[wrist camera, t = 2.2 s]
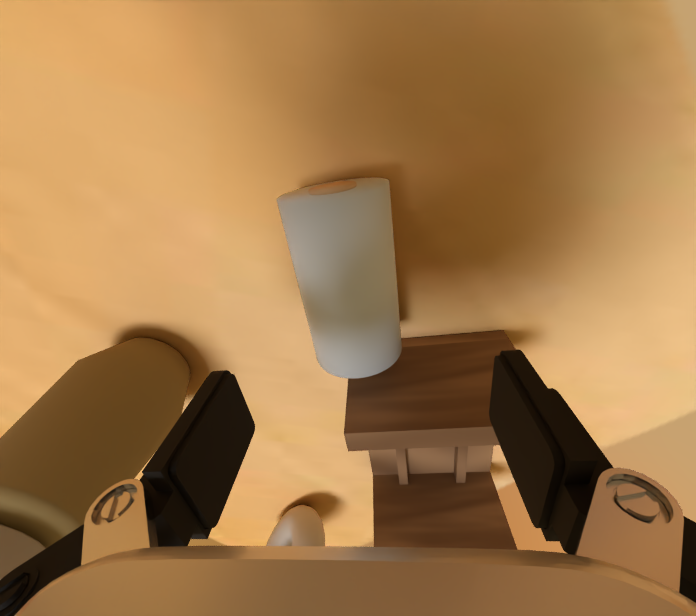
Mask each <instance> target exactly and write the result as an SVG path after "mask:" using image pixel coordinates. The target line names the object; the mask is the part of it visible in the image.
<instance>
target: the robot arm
mask: <svg viewBox="0 0 696 616" xmlns="http://www.w3.org/2000/svg"><path fill="white" fill-rule="evenodd" d="M489 417H490V422H491V424H492V427H493V429H494V432H495V434H496V437H497V439H498V441H499V444H500V446H501V449H502V451H503V453H504V456H505V458H506V461H507V463H508V466H509V468H510V470H511V473H512V475H513V478H514V480H515V482H516V485H517V487H518V489H519V492H520V494H521V497H522V499H523V502H524V504H525V507H526V509H527V512H528V514H529V516H530V519H531V521H532V523H533V525H534V526H535V527H536V528H541V530H542V532H543V535H544V537H545V539H546V541H560V543H561V546H562V548H563V550H564V551H565V552H566V553H568V554H565V553H557V552H545V551H533V550H507V549H477V548H416V547H330V546H188V544H189V541H190V539H208V536H209V534H210V532H211V529H212V528H214V527H215V526H216V525H217V523H218V521H219V519H220V516H221V514H222V511H223V509H224V506H225V504H226V501H227V499H228V496H229V494H230V491H231V489H232V486H233V484H234V481H235V479H236V476H237V474H238V471H239V469H240V467H241V464H242V462H243V459H244V457H245V454H246V452H247V449H248V447H249V444H250V442H251V439H252V437H253V434H254V431H255V424H254V421H253V418H252V416H251V414H250V411H249V409H248V406H247V404H246V402H245V399H244V397H243V394H242V392H241V389H240V387H239V385H238V382H237V380H236V377H235V376H234V375H233V374H231V373H230V372H229V371H227V370H225V371H213V372H211V373H210V374H209V376H208V377H207V378H206V380H205V381H204V383H203V384H202V386H201V387H200V389H199V390H198V391H197V393H196V394H195V396H194V397H193V399H192V400H191V402H190V403H189V405H188V406H187V407H186V409H185V410H184V412H183V413H182V415H181V416H180V418H179V419H178V421H177V422H176V423H175V425H174V426H173V428H172V429H171V431H170V432H169V434H168V435H167V436H166V438H165V439H164V441H163V442H162V444H161V445H160V447H159V448H158V450H157V451H156V452H155V454H154V455H153V457H152V458H151V460H150V461H149V463H148V464H147V465H146V467H145V468H144V470H143V471H142V473H143V474H144V475H143V476H142V478H141V479H140V481H139V480H137V479H127V480H123V481H121V482H119V483H116V484H114V485H113V486H111V487H110V488H108V489H107V490H106V491H104V492H103V493H102V494H101V495H100V496H99V497H98V498H97V499H96V500H95V501H94V503H93V504H92V505H91V506H90V508H89V510H88V512H87V513H86V517H85V521H84V524H83V525H81V526H80V527H78V528H77V529H75V530H74V531H72V532H71V533H69V534H67V535H66V536H64V537H63V538H61V539H60V540H58V541H57V542H55V543H54V544H52V545H51V546H49V547H47V548H46V549H44V550H43V551H41V552H40V553H38V554H37V555H35V556H34V557H32V558H30V559H29V560H27V561H26V562H24V563H23V564H21V565H20V566H18V567H17V568H15V569H14V570H12V571H11V572H10V573H8V574H7V575H6V576H4V577H3V578H2V579H1V580H0V616H696V523H695V522H694V521H692V520H690V519H688V518H686V517H684V516H683V512H682V509H681V507H680V506H679V504H678V502H677V500H676V499H675V498H674V497H673V496H672V495H671V494H670V492H669V491H668V490H667V489H665V488H664V487H663V486H662V485H660V484H659V483H658V482H656V481H655V480H653V479H651V478H649V477H647V476H646V475H644V474H641V473H639V472H636V471H633V470H630V469H624V468H613V467H612V465H611V464H610V462H609V461H608V460H607V458H606V457H605V455H604V454H603V453H602V451H601V450H600V449H599V447H598V446H597V444H596V443H595V442H594V440H593V439H592V438H591V436H590V435H589V433H588V432H587V431H586V429H585V428H584V427H583V425H582V424H581V422H580V421H579V420H578V418H577V417H576V416H575V414H574V413H573V411H572V410H571V409H570V407H569V406H568V405H567V403H566V402H565V400H564V399H563V398H562V396H561V395H560V394H559V393H558V392H557V390H555V389H553V388H551V389H548V388H547V387H546V385H545V384H544V382H543V381H542V380H541V378H540V377H539V375H538V374H537V372H536V371H535V369H534V368H533V367H532V365H531V364H530V362H529V361H528V359H527V358H526V357H525V355H524V354H523V352H522V351H521V350H507V351H501V352H500V355H498V356H495V358H494V367H493V377H492V387H491V397H490V407H489Z"/></svg>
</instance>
